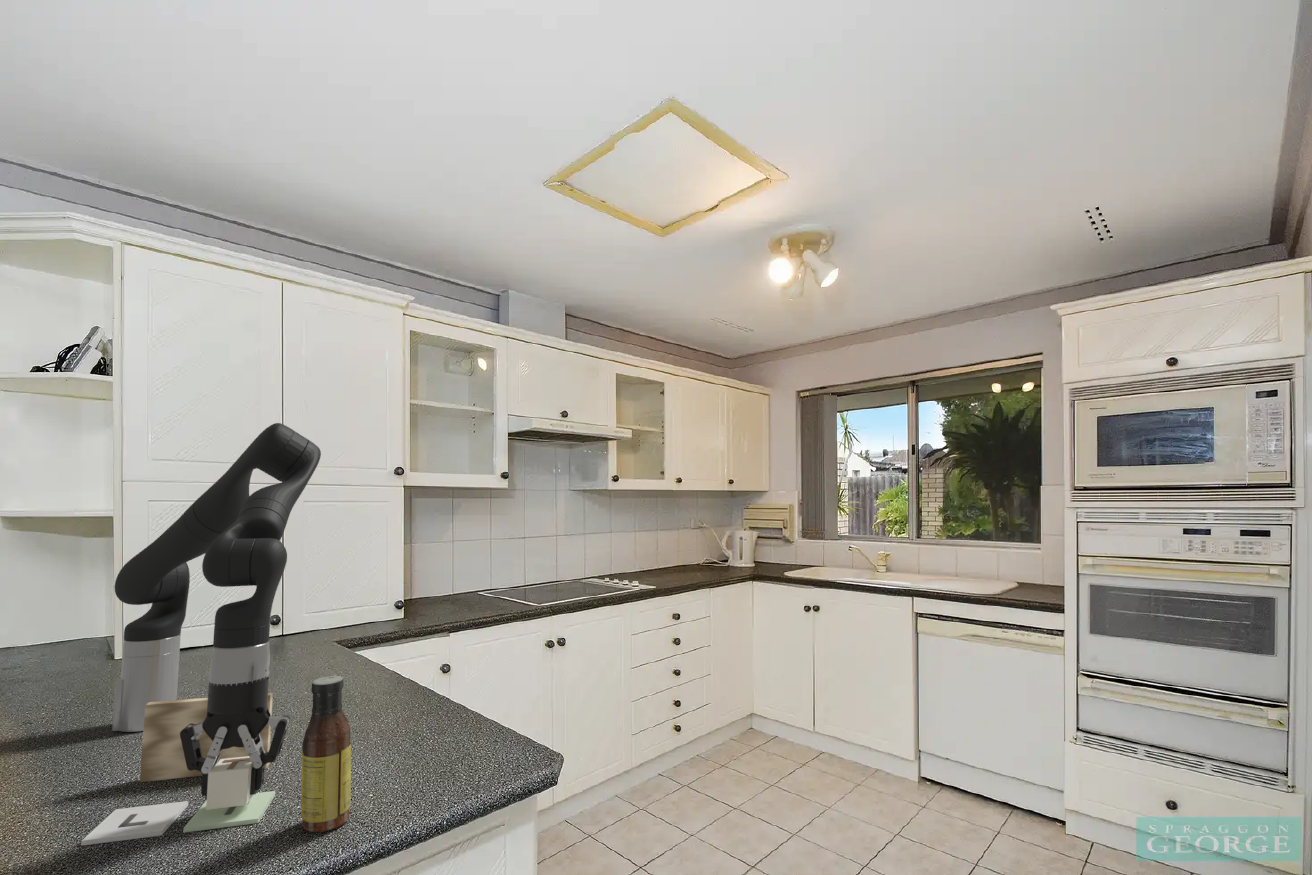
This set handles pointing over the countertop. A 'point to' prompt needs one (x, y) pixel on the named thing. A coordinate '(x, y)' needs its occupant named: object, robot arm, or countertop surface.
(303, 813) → the sauce bottle
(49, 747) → the countertop surface
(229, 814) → the board
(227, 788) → the cube
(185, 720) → the thin wooden plank
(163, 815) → the board
